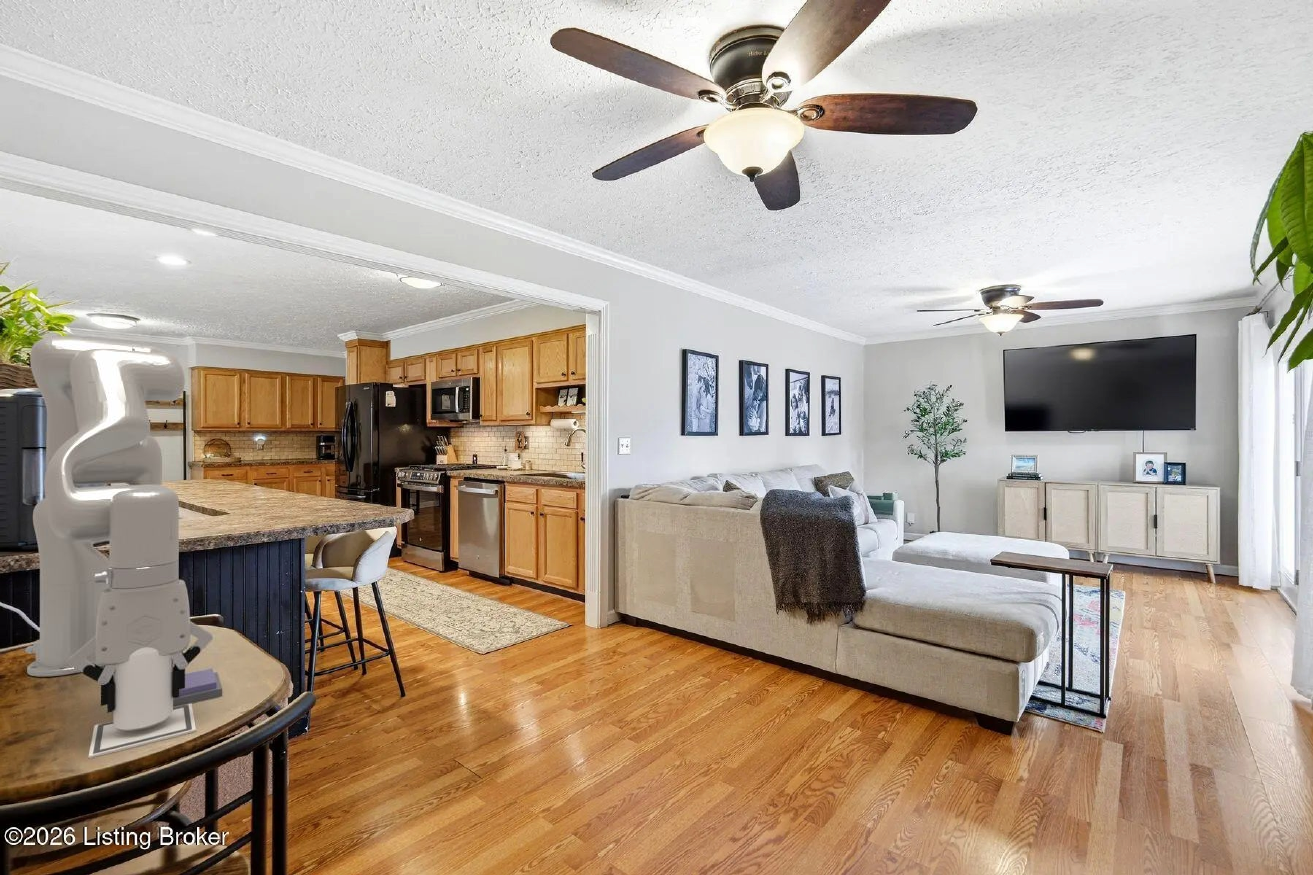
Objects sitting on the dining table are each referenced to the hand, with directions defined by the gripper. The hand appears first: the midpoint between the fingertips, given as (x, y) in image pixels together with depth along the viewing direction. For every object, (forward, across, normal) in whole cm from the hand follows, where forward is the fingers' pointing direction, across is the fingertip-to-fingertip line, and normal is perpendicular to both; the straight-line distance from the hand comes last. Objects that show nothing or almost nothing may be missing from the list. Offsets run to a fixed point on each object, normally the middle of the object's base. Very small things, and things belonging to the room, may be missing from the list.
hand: (144, 700), depth 85 cm
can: (+3, 0, 0) cm, 3 cm away
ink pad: (+4, +5, +11) cm, 13 cm away
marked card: (+4, 0, 0) cm, 4 cm away
